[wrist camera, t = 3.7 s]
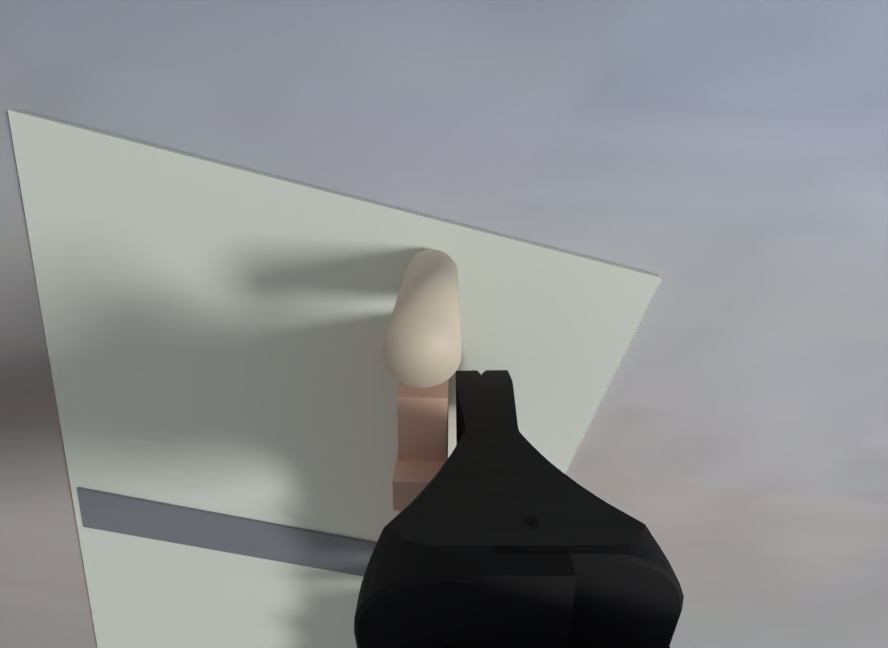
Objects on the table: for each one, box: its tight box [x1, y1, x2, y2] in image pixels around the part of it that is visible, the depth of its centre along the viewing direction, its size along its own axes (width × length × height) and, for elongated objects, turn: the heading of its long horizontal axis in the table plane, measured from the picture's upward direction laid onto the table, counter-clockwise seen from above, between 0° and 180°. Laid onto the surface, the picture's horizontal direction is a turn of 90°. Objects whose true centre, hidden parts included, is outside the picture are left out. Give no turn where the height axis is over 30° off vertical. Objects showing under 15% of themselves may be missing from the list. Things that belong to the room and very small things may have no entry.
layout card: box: [8, 110, 662, 648], centre depth 17 cm, size 27×17×1 cm, turn 166°
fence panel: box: [382, 249, 461, 512], centre depth 12 cm, size 12×1×5 cm, turn 178°
